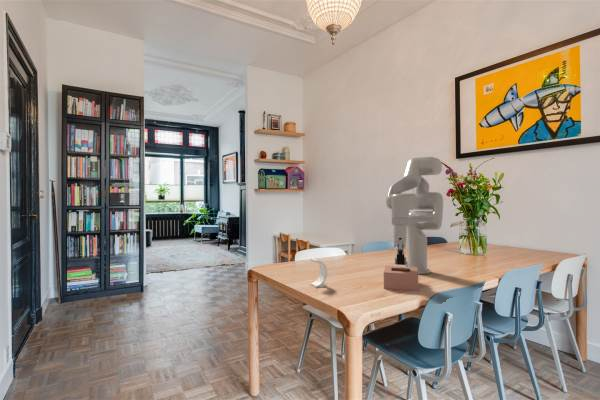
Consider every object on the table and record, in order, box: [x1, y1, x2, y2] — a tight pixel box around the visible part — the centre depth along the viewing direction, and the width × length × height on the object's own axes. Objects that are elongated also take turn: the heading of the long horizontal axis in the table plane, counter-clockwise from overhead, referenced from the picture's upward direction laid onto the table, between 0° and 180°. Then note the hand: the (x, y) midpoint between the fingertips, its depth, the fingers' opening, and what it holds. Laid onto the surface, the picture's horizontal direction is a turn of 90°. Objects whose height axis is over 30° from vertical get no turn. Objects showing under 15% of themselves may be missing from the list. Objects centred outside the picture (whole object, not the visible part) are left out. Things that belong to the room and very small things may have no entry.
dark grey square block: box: [394, 256, 407, 266], centre depth 144 cm, size 5×5×3 cm
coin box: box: [383, 265, 419, 292], centre depth 144 cm, size 14×14×7 cm
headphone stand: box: [309, 258, 328, 289], centre depth 146 cm, size 5×6×12 cm
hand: (400, 262), depth 144 cm, fingers closed on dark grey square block, 4 cm apart
